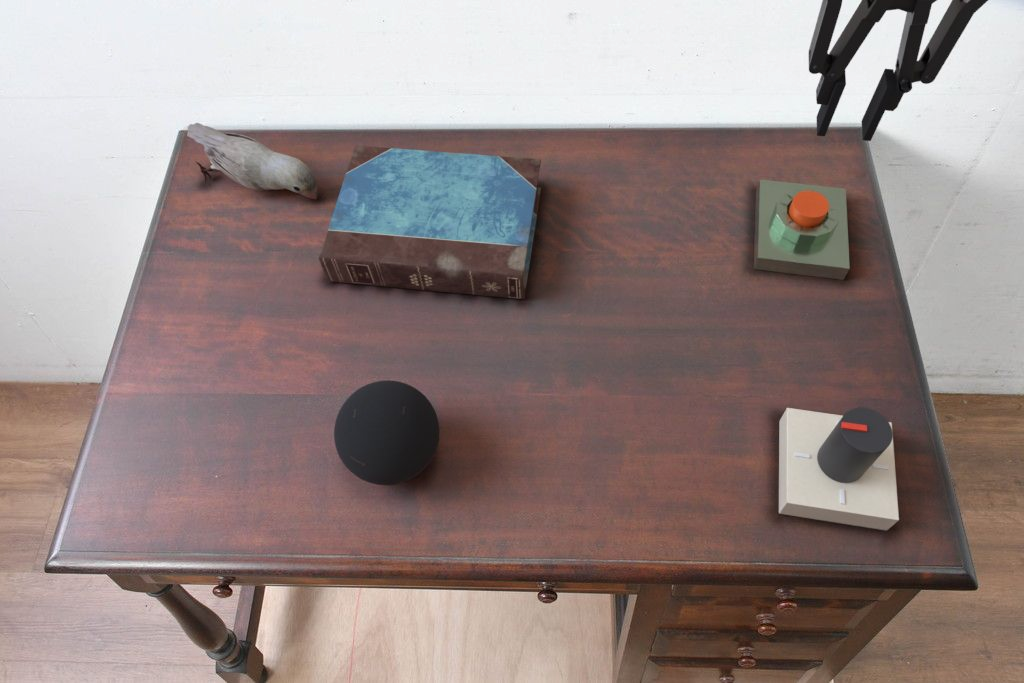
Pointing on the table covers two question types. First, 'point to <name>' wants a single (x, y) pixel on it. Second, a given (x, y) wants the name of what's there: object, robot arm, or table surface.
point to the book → (434, 222)
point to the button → (808, 208)
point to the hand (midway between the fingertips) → (843, 128)
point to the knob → (854, 444)
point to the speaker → (386, 432)
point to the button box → (800, 233)
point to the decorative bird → (252, 162)
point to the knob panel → (819, 494)
